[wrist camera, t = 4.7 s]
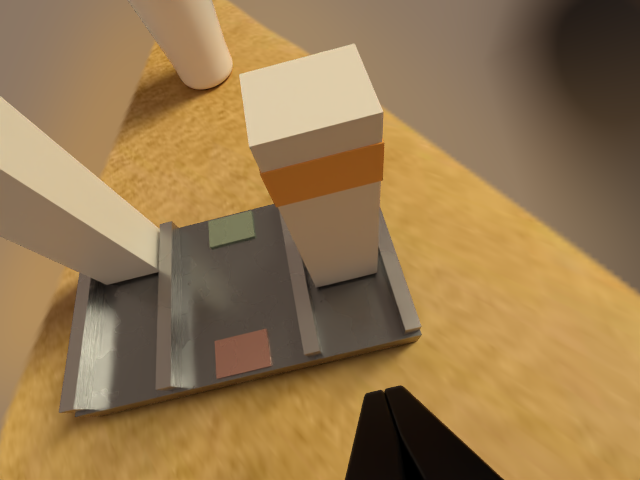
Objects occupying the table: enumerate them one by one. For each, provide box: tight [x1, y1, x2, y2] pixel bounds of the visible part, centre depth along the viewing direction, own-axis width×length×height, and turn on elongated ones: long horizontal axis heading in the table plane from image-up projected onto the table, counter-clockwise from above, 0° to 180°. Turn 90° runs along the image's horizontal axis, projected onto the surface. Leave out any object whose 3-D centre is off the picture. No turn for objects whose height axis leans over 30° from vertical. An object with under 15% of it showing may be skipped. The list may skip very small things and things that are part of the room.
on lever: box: [0, 97, 160, 285], centre depth 17 cm, size 3×4×12 cm
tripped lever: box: [239, 44, 384, 288], centre depth 15 cm, size 3×4×12 cm
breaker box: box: [59, 204, 422, 417], centre depth 20 cm, size 10×19×3 cm, turn 102°
